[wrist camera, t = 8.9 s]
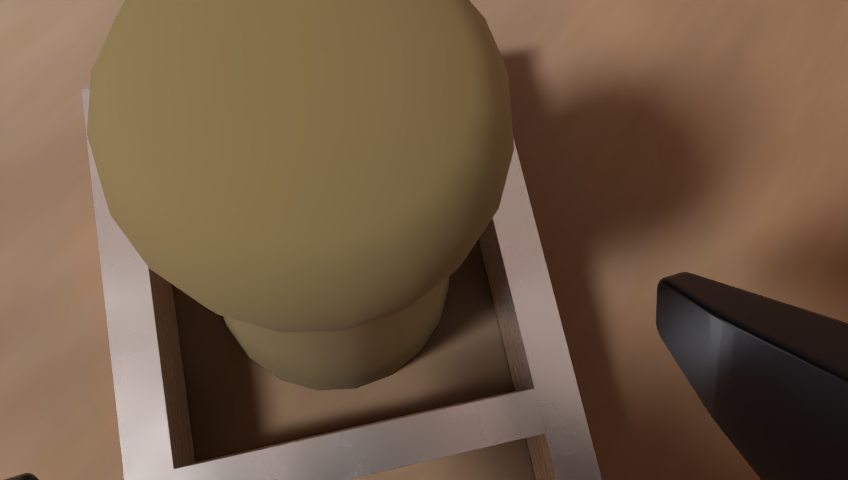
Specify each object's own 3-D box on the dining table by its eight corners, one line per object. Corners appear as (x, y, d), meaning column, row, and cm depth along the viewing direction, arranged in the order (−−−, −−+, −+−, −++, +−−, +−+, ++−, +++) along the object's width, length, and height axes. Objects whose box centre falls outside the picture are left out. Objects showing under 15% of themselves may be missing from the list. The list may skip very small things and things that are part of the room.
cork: (332, 119, 19) (299, -264, 8) (496, 267, 18) (692, 64, 7) (164, 276, 17) (-145, 59, 7) (337, 442, 17) (300, 498, 6)
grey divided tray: (662, 825, 15) (706, 885, 13) (211, 973, 14) (189, 1063, 12) (473, 69, 19) (485, 31, 18) (111, 123, 18) (81, 89, 16)
